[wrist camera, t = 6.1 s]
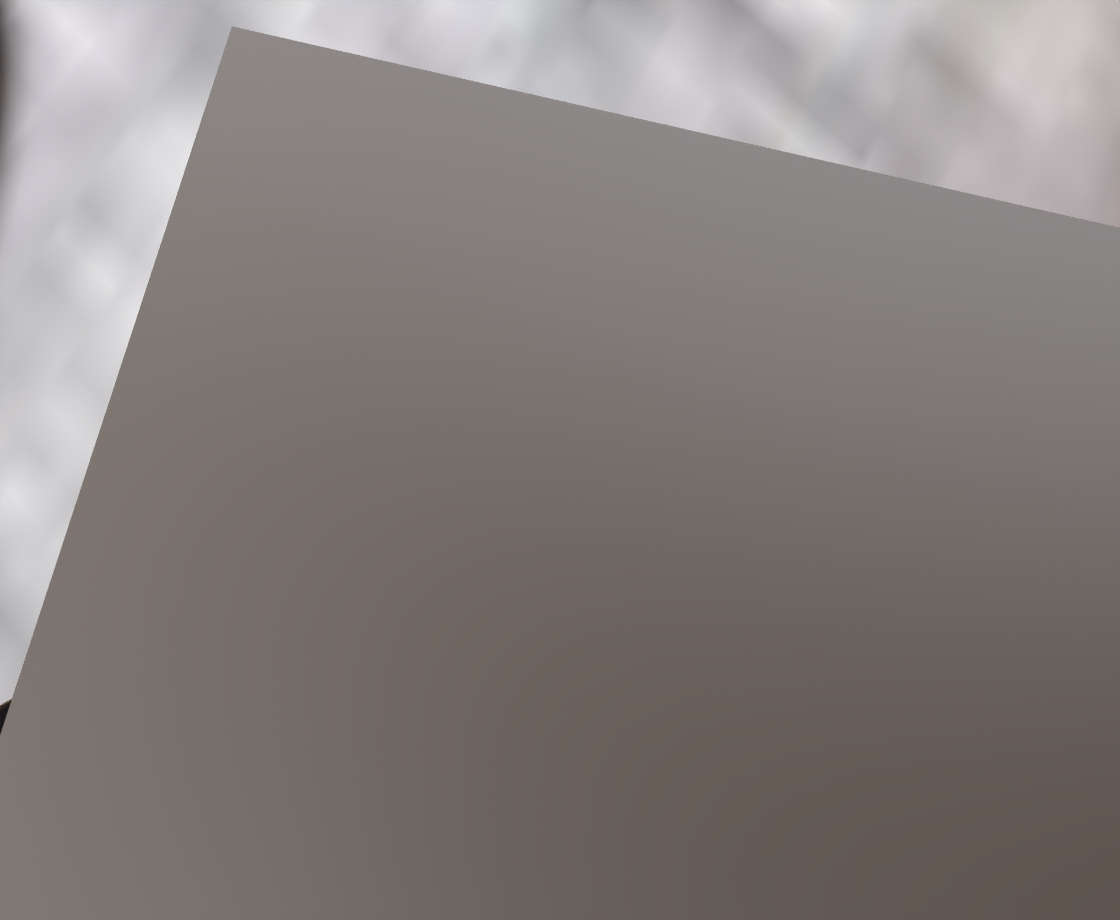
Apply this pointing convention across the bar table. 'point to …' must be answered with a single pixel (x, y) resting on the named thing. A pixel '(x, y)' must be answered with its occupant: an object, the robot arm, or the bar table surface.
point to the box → (579, 535)
